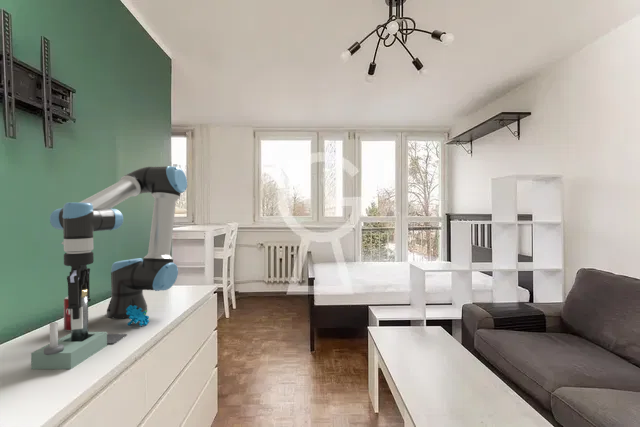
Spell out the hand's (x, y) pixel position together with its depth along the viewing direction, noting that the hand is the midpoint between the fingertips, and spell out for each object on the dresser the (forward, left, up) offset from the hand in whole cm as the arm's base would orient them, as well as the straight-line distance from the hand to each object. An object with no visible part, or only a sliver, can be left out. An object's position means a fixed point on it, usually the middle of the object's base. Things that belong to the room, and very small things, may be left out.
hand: (79, 325), depth 104 cm
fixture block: (+3, 0, -8) cm, 9 cm away
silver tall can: (0, 0, -5) cm, 5 cm away
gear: (-25, +5, -8) cm, 27 cm away
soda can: (-21, -16, -8) cm, 28 cm away
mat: (-10, +3, -8) cm, 13 cm away
